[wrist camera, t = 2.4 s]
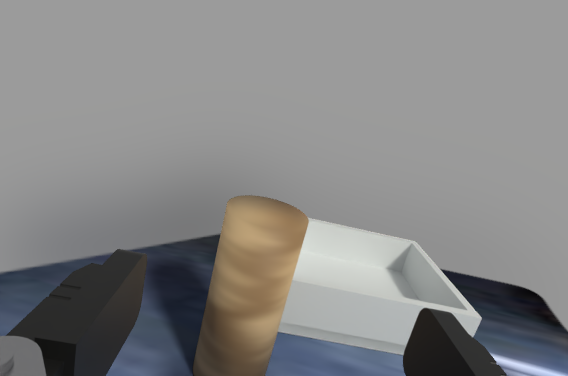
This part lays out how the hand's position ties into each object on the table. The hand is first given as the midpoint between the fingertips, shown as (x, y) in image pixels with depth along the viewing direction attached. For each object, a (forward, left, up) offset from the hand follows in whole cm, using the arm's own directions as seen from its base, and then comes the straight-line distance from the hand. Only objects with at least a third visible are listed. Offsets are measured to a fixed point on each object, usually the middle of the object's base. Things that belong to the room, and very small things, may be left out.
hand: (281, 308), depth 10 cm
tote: (+11, +23, -13) cm, 29 cm away
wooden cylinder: (0, +11, -13) cm, 18 cm away
